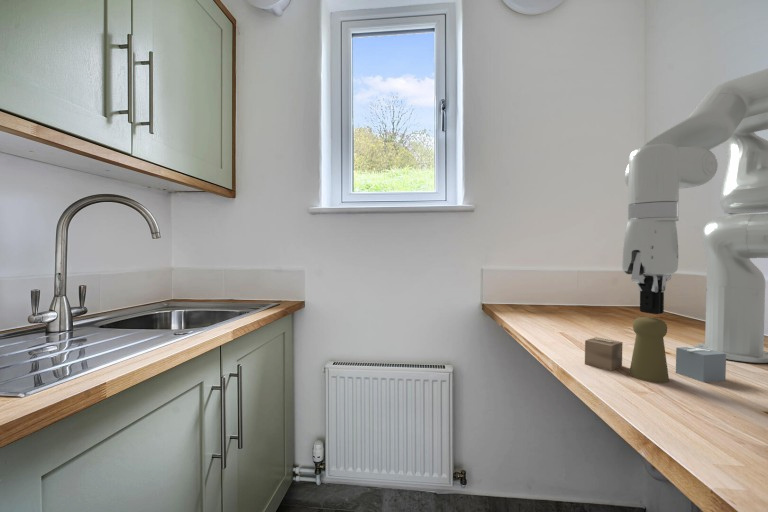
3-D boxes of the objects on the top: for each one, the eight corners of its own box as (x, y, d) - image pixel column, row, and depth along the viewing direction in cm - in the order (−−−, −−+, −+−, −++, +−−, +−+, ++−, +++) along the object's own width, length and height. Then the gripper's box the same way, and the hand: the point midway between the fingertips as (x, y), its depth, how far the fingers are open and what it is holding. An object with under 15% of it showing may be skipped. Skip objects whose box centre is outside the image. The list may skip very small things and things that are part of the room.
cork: (676, 384, 64) (678, 321, 64) (638, 381, 65) (639, 320, 65) (658, 372, 70) (659, 315, 70) (623, 370, 71) (624, 314, 71)
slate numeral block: (696, 371, 71) (697, 345, 71) (725, 381, 66) (726, 352, 66) (674, 373, 70) (675, 346, 70) (702, 382, 65) (702, 353, 65)
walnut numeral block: (595, 360, 78) (596, 336, 78) (621, 366, 74) (622, 341, 74) (584, 364, 75) (585, 339, 75) (611, 371, 71) (611, 344, 71)
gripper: (653, 216, 74) (652, 306, 74) (607, 214, 67) (606, 313, 68) (698, 213, 67) (696, 312, 67) (651, 210, 60) (650, 320, 61)
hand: (651, 312), depth 67 cm, fingers closed
